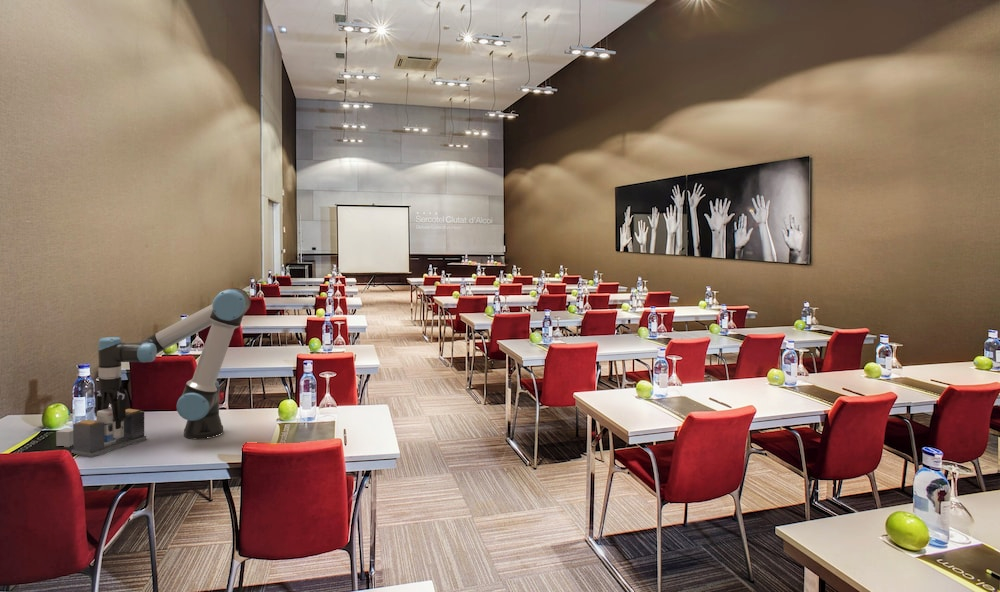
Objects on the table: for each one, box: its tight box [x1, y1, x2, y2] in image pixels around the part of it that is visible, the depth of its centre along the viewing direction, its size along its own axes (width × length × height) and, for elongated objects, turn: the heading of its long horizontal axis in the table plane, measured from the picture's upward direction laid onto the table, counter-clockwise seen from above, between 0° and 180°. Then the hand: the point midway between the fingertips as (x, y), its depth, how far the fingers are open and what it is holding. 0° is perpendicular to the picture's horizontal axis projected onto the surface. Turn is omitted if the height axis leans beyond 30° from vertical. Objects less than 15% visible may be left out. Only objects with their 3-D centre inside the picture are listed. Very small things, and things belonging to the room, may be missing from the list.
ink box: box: [96, 406, 124, 442], centre depth 241 cm, size 8×5×12 cm, turn 168°
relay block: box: [55, 427, 73, 448], centre depth 241 cm, size 5×5×6 cm
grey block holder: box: [71, 408, 147, 458], centre depth 241 cm, size 10×24×12 cm, turn 163°
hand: (110, 435), depth 241 cm, fingers closed on ink box, 5 cm apart
